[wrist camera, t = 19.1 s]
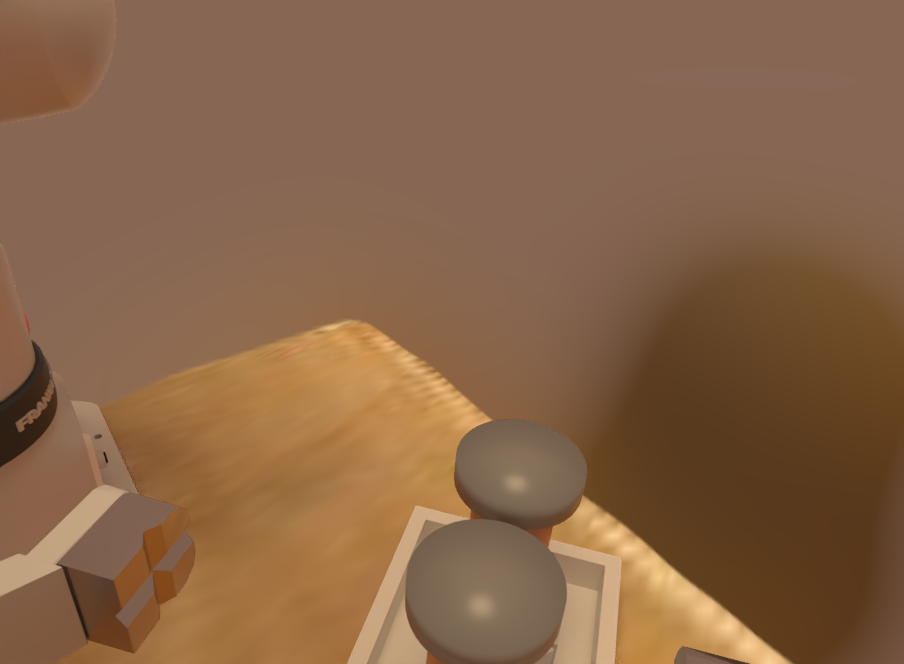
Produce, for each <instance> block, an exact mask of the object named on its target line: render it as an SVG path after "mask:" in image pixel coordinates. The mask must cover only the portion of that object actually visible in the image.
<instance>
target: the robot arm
mask: <svg viewBox="0 0 904 664" xmlns="http://www.w3.org/2000/svg"><path fill="white" fill-rule="evenodd" d="M115 34H116V12H115V3H114V0H0V124H6V123H11V122H17V121H23V120H29V119H34V118H39V117H43V116H48V115H53V114H58V113H62V112H67V111H72V110H76V109H79V108H80V107H81V106H83V105H84V103H85V102H86V101H87V100H88V99H89V98H90V97H91V96H92V94H93V93H94V91H95V90H96V89H97V88H98V86H99V85H100V83H101V81H102V79H103V77H104V76H105V74H106V71H107V68H108V66H109V63H110V61H111V57H112V53H113V49H114V44H115ZM189 524H190V519H189V515H188V511H187V509H185V508H182V507H179V506H175V505H172V504H169V503H166V502H162V501H159V500H156V499H152V498H149V497H146V496H142V495H139V493H138V491H137V489H136V487H135V485H134V482H133V480H132V478H131V476H130V474H129V471H128V469H127V467H126V465H125V463H124V461H123V458H122V456H121V454H120V452H119V450H118V447H117V445H116V443H115V441H114V439H113V436H112V434H111V432H110V430H109V428H108V425H107V423H106V421H105V419H104V417H103V414H102V412H101V410H100V408H99V407H98V406H97V405H96V404H94V403H90V402H83V401H71V400H70V397H69V395H68V392H67V389H66V387H65V384H64V382H63V379H62V377H61V376H60V375H59V374H57V373H55V372H53V371H51V368H50V365H49V363H48V361H47V359H46V358H45V356H44V355H43V353H42V351H41V349H40V347H39V346H38V345H37V344H36V343H35V342H34V341H33V340H31V338H30V333H29V325H28V321H27V319H26V316H25V314H24V313H23V310H22V307H21V304H20V300H19V297H18V293H17V290H16V286H15V283H14V280H13V276H12V273H11V269H10V266H9V262H8V259H7V255H6V252H5V249H4V247H3V245H2V244H1V242H0V664H56V663H57V662H59V661H61V660H62V659H64V658H65V657H67V656H68V655H70V654H72V653H73V652H75V651H76V650H78V649H79V648H81V647H82V646H84V645H86V644H87V643H88V641H87V640H90V641H93V642H97V643H100V644H103V645H107V646H110V647H114V648H117V649H121V650H124V651H127V652H131V653H135V652H136V651H137V649H138V648H139V647H140V645H141V644H142V643H143V641H144V640H145V638H146V637H147V636H148V634H149V633H150V632H151V630H152V629H153V628H154V626H155V625H156V623H157V622H158V621H159V619H160V604H162V603H164V602H166V601H168V600H170V599H172V598H173V597H175V596H177V594H178V593H179V592H180V590H181V589H182V587H183V586H184V584H185V583H186V581H187V579H188V577H189V574H190V572H191V570H192V567H193V565H194V558H195V546H194V541H193V540H192V539H191V537H190V536H189V535H188V534H187V533H186V531H185V529H186V528H187V527H188V525H189ZM674 664H749V663H745V662H741V661H738V660H734V659H730V658H726V657H722V656H718V655H715V654H711V653H707V652H703V651H699V650H696V649H692V648H688V647H684V646H683V647H682V648H680V649H679V651H678V653H677V655H676V657H675V660H674Z"/></svg>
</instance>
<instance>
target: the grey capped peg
mask: <svg viewBox="0 0 904 664" xmlns="http://www.w3.org/2000/svg"><path fill="white" fill-rule="evenodd" d="M586 477H587V466H586V462H585V459H584V457H583V455H582V453H581V451H580V450H579V449H578V447H577V446H576V445H575V444H574V443H573V442H572V441H571V440H570V439H568V438H567V437H566V436H565V435H563V434H562V433H560V432H558V431H556V430H554V429H552V428H550V427H548V426H546V425H543V424H540V423H536V422H532V421H527V420H519V419H503V420H495V421H490V422H487V423H484V424H481V425H479V426H477V427H475V428H474V429H472V430H471V431H469V432H468V433H467V434H466V435H465V436H464V437H463V438H462V440H461V441H460V443H459V445H458V448H457V453H456V462H455V472H454V481H455V486H456V489H457V492H458V494H459V496H460V497H461V499H462V500H463V502H464V503H465V504H466V505H467V506H468V507H469V508H470V509H471V517H470V519H489V520H496V521H501V522H505V523H508V524H511V525H514V526H516V527H519V528H521V529H523V530H525V531H527V532H528V533H530V534H532V535H533V536H535V537H536V538H537V539H539V540H540V541H541V542H542V543H543V544H544V545H545V546H546V547H547V548H548V547H549V542H550V537H551V533H552V528H553V526H555V525H557V524H560V523H561V522H563V521H565V520H567V519H568V518H569V517H570V516H572V514H573V513H574V512H575V511H576V510H577V508H578V506H579V504H580V502H581V499H582V494H583V490H584V486H585V482H586Z"/></svg>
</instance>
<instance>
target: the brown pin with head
mask: <svg viewBox="0 0 904 664" xmlns="http://www.w3.org/2000/svg"><path fill="white" fill-rule="evenodd" d="M566 600H567V586H566V580H565V576H564V573H563V571H562V568H561V566H560V564H559V562H558V561H557V559H556V557H555V556H554V555H553V553H552V552H551V551H550V550H549V549H548V548H547V547H546V546H545V545H544V544H543V543H542V542H541V541H540V540H539V539H537V538H536V537H535V536H533V535H532V534H530V533H528V532H527V531H525V530H523V529H521V528H519V527H516V526H514V525H511V524H508V523H505V522H501V521H496V520H489V519H469V520H462V521H457V522H453V523H450V524H448V525H445V526H443V527H441V528H439V529H437V530H435V531H434V532H432V533H431V534H429V535H428V536H427V537H426V538H425V539H424V540H422V542H421V543H420V544H419V545H418V546H417V548H416V549H415V551H414V552H413V554H412V556H411V559H410V561H409V564H408V568H407V574H406V590H405V610H406V615H407V619H408V622H409V625H410V627H411V629H412V631H413V633H414V635H415V637H416V638H417V640H418V641H419V642H420V644H421V645H422V646H423V647H424V648H425V649H426V650H427V658H426V664H534V663H536V662H537V661H539V660H540V659H541V658H542V657H543V656H544V655H545V654H546V653H547V652H548V651H549V650H550V648H551V647H552V646H553V644H554V642H555V640H556V638H557V636H558V633H559V630H560V627H561V623H562V618H563V614H564V610H565V606H566Z"/></svg>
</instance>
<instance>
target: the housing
mask: <svg viewBox="0 0 904 664" xmlns="http://www.w3.org/2000/svg"><path fill="white" fill-rule="evenodd" d="M462 520H469V519H468V518H464V517H460V516H456V515H452V514H448V513H444V512H440V511H436V510H432V509H428V508H425V507H421V506H417V505H416V506H415V509H414V511H413V513H412V515H411V518H410V520H409V522H408V525H407V527H406V529H405V532H404V534H403V536H402V538H401V541H400V543H399V545H398V548H397V550H396V552H395V555H394V557H393V559H392V561H391V564H390V566H389V568H388V571H387V573H386V575H385V577H384V580H383V582H382V584H381V587H380V589H379V591H378V594H377V596H376V598H375V600H374V603H373V605H372V607H371V610H370V612H369V614H368V617H367V619H366V621H365V623H364V626H363V628H362V630H361V633H360V635H359V637H358V639H357V642H356V644H355V646H354V649H353V651H352V653H351V656H350V658H349V660H348V662H347V664H426V658H427V650H426V649H425V648H424V647H423V646H422V645H421V644H420V642H419V641H418V640H417V638H416V637H415V635H414V633H413V631H412V629H411V627H410V625H409V622H408V619H407V615H406V610H405V590H406V574H407V568H408V564H409V561H410V559H411V556H412V554H413V552H414V551H415V549H416V548H417V546H418V545H419V544H420V543H421V542H422V540H424V539H425V538H426V537H427V536H428V535H429V534H431V533H432V532H434V531H435V530H437V529H439V528H441V527H443V526H445V525H448V524H450V523H453V522H457V521H462ZM548 549H549V550H550V551H551V552H552V553H553V555H554V556H555V557H556V559H557V561H558V562H559V564H560V566H561V568H562V571H563V573H564V576H565V580H566V586H567V600H566V606H565V610H564V614H563V618H562V623H561V627H560V630H559V633H558V636H557V638H556V640H555V642H554V644H553V646H552V647H551V648H550V650H549V651H548V652H547V653H546V654H545V655H544V656H543V657H542V658H541V659H540V660H539V661H537V662H536V663H534V664H615V650H616V635H617V621H618V606H619V592H620V577H621V562H622V558H621V557H617V556H613V555H609V554H605V553H601V552H597V551H593V550H590V549H586V548H582V547H578V546H574V545H570V544H566V543H562V542H558V541H554V540H550V542H549V547H548Z"/></svg>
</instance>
